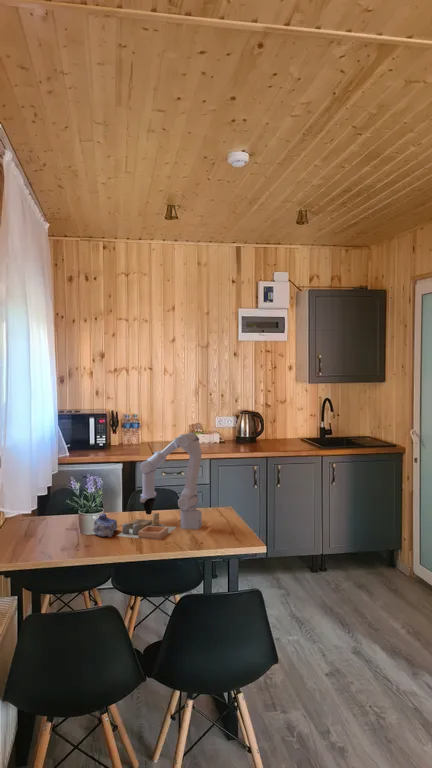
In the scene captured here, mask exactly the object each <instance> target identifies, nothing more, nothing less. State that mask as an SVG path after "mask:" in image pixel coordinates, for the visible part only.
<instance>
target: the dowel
mask: <svg viewBox="0 0 432 768" xmlns="http://www.w3.org/2000/svg"><path fill="white" fill-rule="evenodd" d="M152 524H153V526H159V524H160V513H157V512H155V513H153V512H152Z"/></svg>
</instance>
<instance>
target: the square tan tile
mask: <svg viewBox="0 0 432 768" xmlns="http://www.w3.org/2000/svg"><path fill="white" fill-rule="evenodd" d="M128 524H129V529H133V525H134V524H139V525H140V530H142V529H143V528H145V527H146V526H150V525H152V524H153V519H140V518H136V519H134V520H133V521H131V522H129V523H128Z"/></svg>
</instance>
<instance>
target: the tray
mask: <svg viewBox="0 0 432 768" xmlns="http://www.w3.org/2000/svg"><path fill="white" fill-rule="evenodd" d="M167 533H168V527H159V526H146V527H145V528H143V529H142V530H140V531H139V532H138V538H137V539H144V538H150V539H149V540H156V539H161V538H162V537H163V536H165V535H166V534H167ZM167 535H168V534H167ZM167 535H166V536H167ZM166 536H165V537H166ZM163 538H164V537H163ZM163 538H162V539H163ZM162 539H161V540H162Z"/></svg>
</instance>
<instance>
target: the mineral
mask: <svg viewBox="0 0 432 768" xmlns="http://www.w3.org/2000/svg"><path fill="white" fill-rule="evenodd" d="M101 514H102V515H100V516H99V518H98V519H96V518H95V519H96V520H95V519H94V522H93V528H92V532H93V533H94V534H95V535H96V536H98V537H109V538H110V537H111V538H112V536H113V535H114V532H116V531H117V529H118V521H117V519H114V518H113V519H112V518H110V517H107V514H106V513H101Z"/></svg>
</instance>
